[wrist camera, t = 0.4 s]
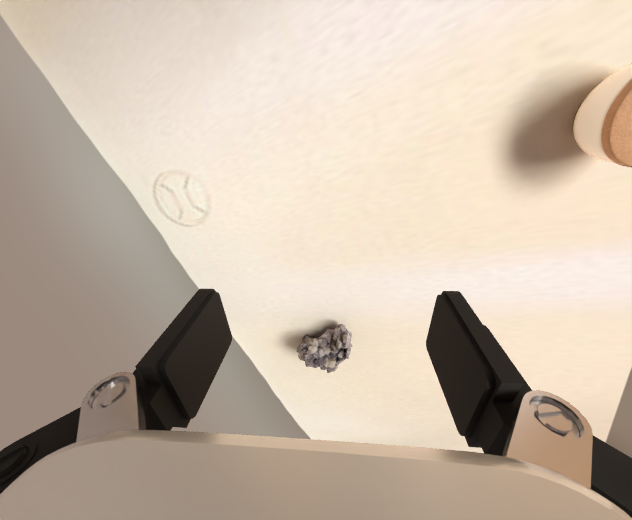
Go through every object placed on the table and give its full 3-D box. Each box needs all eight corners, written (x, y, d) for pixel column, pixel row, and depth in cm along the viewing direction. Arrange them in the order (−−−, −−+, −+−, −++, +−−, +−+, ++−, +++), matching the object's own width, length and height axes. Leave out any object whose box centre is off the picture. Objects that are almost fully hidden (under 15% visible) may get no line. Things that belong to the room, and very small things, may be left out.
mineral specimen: (353, 322, 46) (333, 376, 41) (365, 341, 52) (349, 390, 48) (301, 308, 53) (278, 353, 48) (318, 326, 59) (299, 367, 54)
